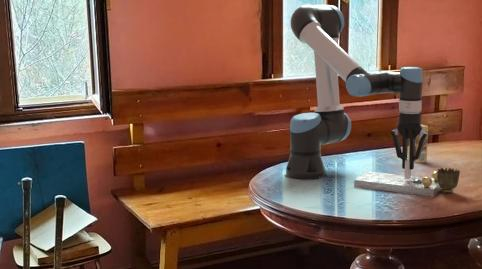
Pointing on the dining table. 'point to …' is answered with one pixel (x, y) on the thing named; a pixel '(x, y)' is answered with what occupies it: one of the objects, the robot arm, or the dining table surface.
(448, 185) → the olive brown rounded bowl
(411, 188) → the plate
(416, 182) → the steel ball
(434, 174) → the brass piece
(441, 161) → the dining table surface
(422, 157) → the candy box
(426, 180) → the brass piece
